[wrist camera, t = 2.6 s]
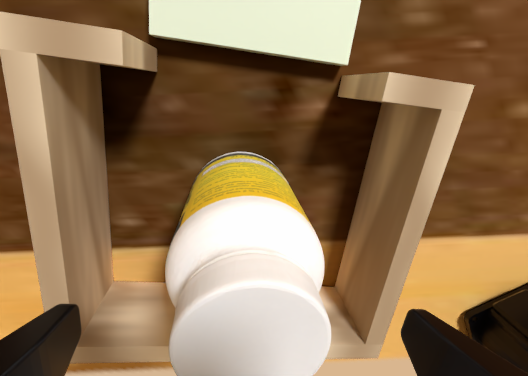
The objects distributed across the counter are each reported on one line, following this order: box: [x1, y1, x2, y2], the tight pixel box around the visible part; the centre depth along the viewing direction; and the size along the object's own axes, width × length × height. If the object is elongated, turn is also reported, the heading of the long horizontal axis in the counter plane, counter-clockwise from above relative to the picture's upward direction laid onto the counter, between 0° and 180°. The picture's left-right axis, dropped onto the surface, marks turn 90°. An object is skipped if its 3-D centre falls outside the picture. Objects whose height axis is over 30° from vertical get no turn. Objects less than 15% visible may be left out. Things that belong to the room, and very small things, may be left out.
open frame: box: [0, 12, 474, 363], centre depth 14 cm, size 16×14×4 cm
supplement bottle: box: [165, 152, 331, 376], centre depth 11 cm, size 5×5×10 cm
